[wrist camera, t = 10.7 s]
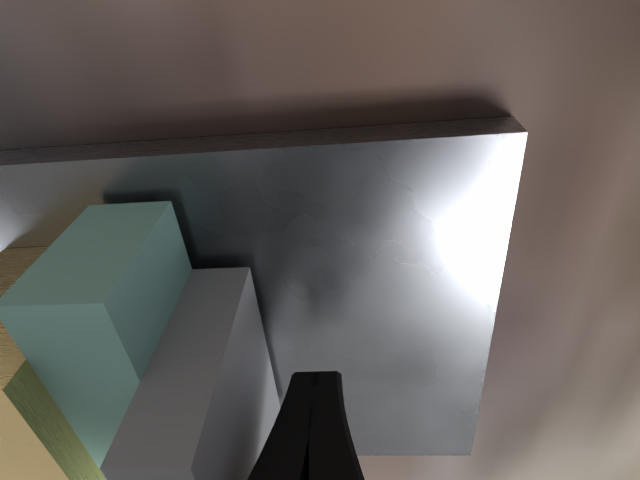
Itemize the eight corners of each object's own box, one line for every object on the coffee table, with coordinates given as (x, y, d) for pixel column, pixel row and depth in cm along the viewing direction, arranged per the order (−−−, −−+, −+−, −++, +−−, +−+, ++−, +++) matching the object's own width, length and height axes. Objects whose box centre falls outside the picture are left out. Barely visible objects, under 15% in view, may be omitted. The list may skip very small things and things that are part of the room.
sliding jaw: (234, 197, 10) (153, 386, 6) (289, 447, 16) (267, 639, 11) (89, 205, 11) (-89, 390, 6) (192, 448, 16) (136, 635, 12)
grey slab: (513, 116, 10) (647, 260, 6) (464, 429, 17) (508, 612, 12) (-261, 167, 12) (-635, 309, 7) (-29, 432, 19) (-150, 593, 14)
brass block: (113, 243, 12) (2, 390, 8) (183, 411, 15) (131, 563, 12) (3, 248, 12) (-154, 393, 8) (99, 412, 16) (23, 560, 12)
